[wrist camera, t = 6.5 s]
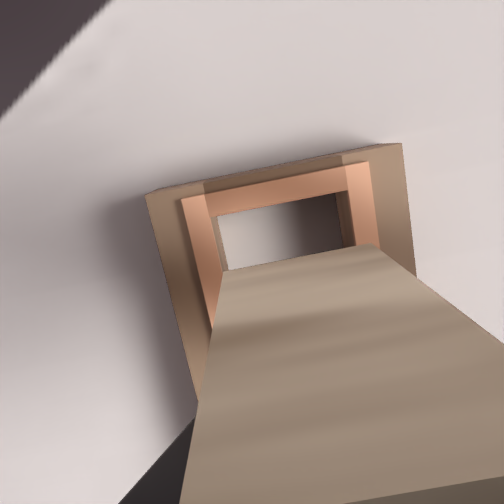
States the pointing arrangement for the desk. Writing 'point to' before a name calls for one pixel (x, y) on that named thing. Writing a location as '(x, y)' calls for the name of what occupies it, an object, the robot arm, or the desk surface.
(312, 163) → the walnut hole board
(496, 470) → the maple peg
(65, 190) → the desk surface
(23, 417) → the desk surface
